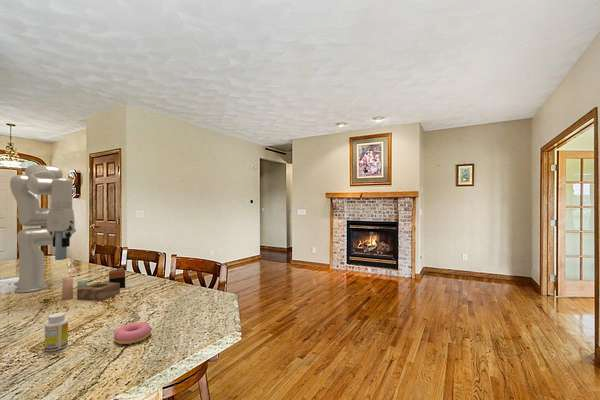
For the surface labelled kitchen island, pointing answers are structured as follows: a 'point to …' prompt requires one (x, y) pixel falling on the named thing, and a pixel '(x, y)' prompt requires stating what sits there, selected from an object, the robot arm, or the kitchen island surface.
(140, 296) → the kitchen island surface
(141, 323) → the doughnut
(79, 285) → the short dowel
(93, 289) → the hole block
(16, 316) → the kitchen island surface
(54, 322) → the supplement bottle
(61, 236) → the tall dowel
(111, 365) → the kitchen island surface
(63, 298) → the medium dowel
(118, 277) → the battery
